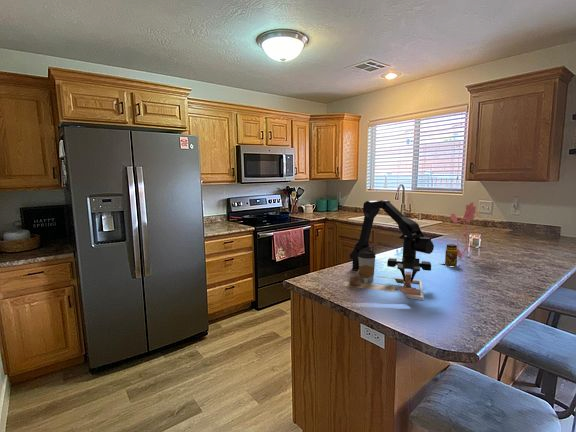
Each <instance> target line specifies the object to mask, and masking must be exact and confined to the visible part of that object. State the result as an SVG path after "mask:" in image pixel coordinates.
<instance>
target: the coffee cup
mask: <svg viewBox="0 0 576 432" xmlns="http://www.w3.org/2000/svg"><path fill="white" fill-rule="evenodd" d="M358 257H359V274H360V281H364V278H368V282H371V281H374V276H375V264H376V253H375V251H374V250H361V251H359V253H358Z"/></svg>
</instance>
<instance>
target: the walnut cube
mask: <svg viewBox="0 0 576 432" xmlns="http://www.w3.org/2000/svg"><path fill="white" fill-rule="evenodd" d="M360 281H361V279H360V274H356V273H349V281H348V282H349V283H350V286H359V287H360V283H361V282H360ZM350 286H349V287H350Z"/></svg>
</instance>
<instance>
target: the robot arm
mask: <svg viewBox="0 0 576 432" xmlns="http://www.w3.org/2000/svg"><path fill="white" fill-rule="evenodd" d="M362 206H363V207H362V212H363V215H364V217H363V222H362V226H361V231H360V235H359V239H358V241H357V243H355V245H354V247H353V250H352V252H350V254H349V258H350V259H351V260H352V265H351V267H352V268H351V270H352V271H356V272H357V271H358V270H359V257H358V253H359V251H361V250H371V249H372V246H371V245H370V244H369V241H370V236H371V232H372V229H373V224H374V220H375V218H376V216H378V214H379V212H380V209H382V210H383V211H384V212H385V214H387V215H388V216H389V217H390V218H391V219H392V220H393V221H394V222H395V223H396V225H397V226H398V229H399V231H400V232H401V233H402V235H400V236H399V239H401V240H403V242H402V258H401V260H398V259H397V258H392V257H391V258H390V257H389V258H388V259H387V263H386V266H387V267H388V268H395V267H396V266H397V267H396V268H397V270H399V271H400V272H401V276H402V279H404V282H405V271H406V270H412V271H411V284H412V281H413V280H415V279H414V278H415V276H416V275H417V273H418V272H420V271H421V269H422V270H423V271H429V272H431V271H432V263H431V261H424V260H421V262H420V258H417V257H416V256H417V252H418V253H422V254H426V255H427V254H428V255H430V254H431V253H433V252H434V248H435V245H434V242H433V241H432V238H431V237H425V236H424V234H423V232H422V230H421V228H420V225H419V223H418V222H416V221H414V219H411V218H409V217H406V216H405V215H404V214H403V213H402V212H400V210H398V208H397V207H396V206H394V204H393V203H391V201H390V200H388V199H382V200H367V201H364V203H363V205H362ZM371 251H372V250H371ZM404 282H403V283H404Z"/></svg>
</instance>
